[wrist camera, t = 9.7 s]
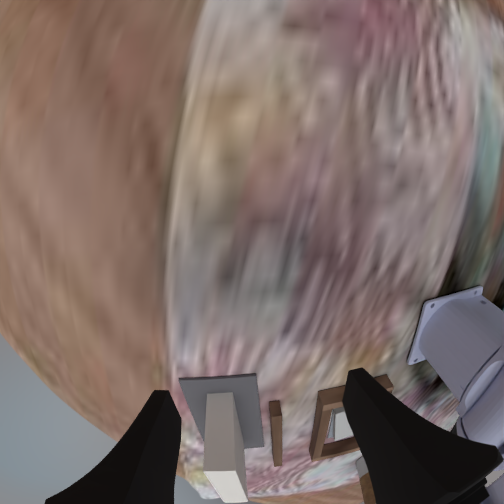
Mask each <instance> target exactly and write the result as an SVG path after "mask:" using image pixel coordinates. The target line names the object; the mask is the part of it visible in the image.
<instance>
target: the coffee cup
mask: <svg viewBox="0 0 504 504" xmlns="http://www.w3.org/2000/svg"><path fill="white" fill-rule="evenodd" d="M356 466H357V470H358V474H359V478H360V484H361V489H362V493H363V498H364V503H365V504H376V501H375V496H374V491H373V487H372V483H371V479H370V476H369V472H368V468H367V465H366V463H365V460H364V458H363V456H362V457H361V458H359V459H358V460H357V461H356Z"/></svg>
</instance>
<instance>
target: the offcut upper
mask: <svg viewBox="0 0 504 504" xmlns="http://www.w3.org/2000/svg"><path fill="white" fill-rule="evenodd" d="M352 435H353V432H352V430H351V428H350V425H349V423H348V420H347V417H346V414H345V410H344V406H343V407H339V408H335V409H333V437H334V440H335V441H336V440H339V439H343V438H346V437H349V436H352Z"/></svg>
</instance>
